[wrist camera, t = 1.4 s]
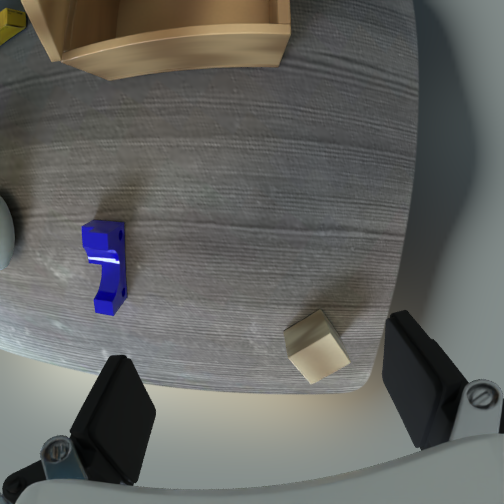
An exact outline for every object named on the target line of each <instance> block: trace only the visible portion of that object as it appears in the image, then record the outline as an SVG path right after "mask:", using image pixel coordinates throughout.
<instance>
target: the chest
mask: <svg viewBox="0 0 504 504" xmlns="http://www.w3.org/2000/svg"><path fill="white" fill-rule="evenodd" d="M290 24H291V16H290V0H70V5H69V11H68V17H67V23H66V30H65V37H64V45H63V54H62V60H61V63H64V64H67V65H70V66H72V67H75V68H78V69H81V70H83V71H86V72H88V73H91V74H94V75H96V76H99V77H101V78H104V79H106V80H108V81H111V80H116V79H122V78H127V77H133V76H140V75H147V74H154V73H162V72H170V71H180V70H191V69H205V68H224V67H279V64H280V61H281V58H282V56H283V53H284V51H285V48H286V46H287V43H288V40H289V38H290V35H291V25H290Z"/></svg>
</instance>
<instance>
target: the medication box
mask: <svg viewBox="0 0 504 504" xmlns="http://www.w3.org/2000/svg"><path fill="white" fill-rule="evenodd" d="M26 27H27V26H26V14H25V12H22V11H18V10H14V9H10V8H5V9H4V10H3V11H1V12H0V45H2V44H3V43H4V42H6V41H7V40H8V39H10V38H11V37H13V36H14V35H16V34H17V33H19V32H20V31H22V30H23V29H25V28H26Z"/></svg>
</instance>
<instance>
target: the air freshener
mask: <svg viewBox="0 0 504 504" xmlns="http://www.w3.org/2000/svg"><path fill="white" fill-rule="evenodd" d="M14 242H15V233H14V225H13V220H12V217H11V214H10V211H9V209H8V207H7V205H6V203H5V201H4V200H3V198H2V197H1V196H0V270H2V269H4V268H5V267H7V266H8V264H9V262H10V260H11V258H12V255H13V250H14Z"/></svg>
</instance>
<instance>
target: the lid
mask: <svg viewBox="0 0 504 504" xmlns="http://www.w3.org/2000/svg"><path fill="white" fill-rule="evenodd" d="M21 2H22V4H23V6H24V8H25V11H26V13H27V15H28V17H29V19H30V21H31V23H32V25H33V27H34V29H35V31H36V33H37V35H38V37H39V39H40V41H41V42H42V44H43V46H44V48H45V50H46V52H47V54H48V56H49V58H50V59H51V61H52V62H55V61H61V60H62V54H63V45H64V37H65V30H66V23H67V17H68V11H69V5H70V0H21Z"/></svg>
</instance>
